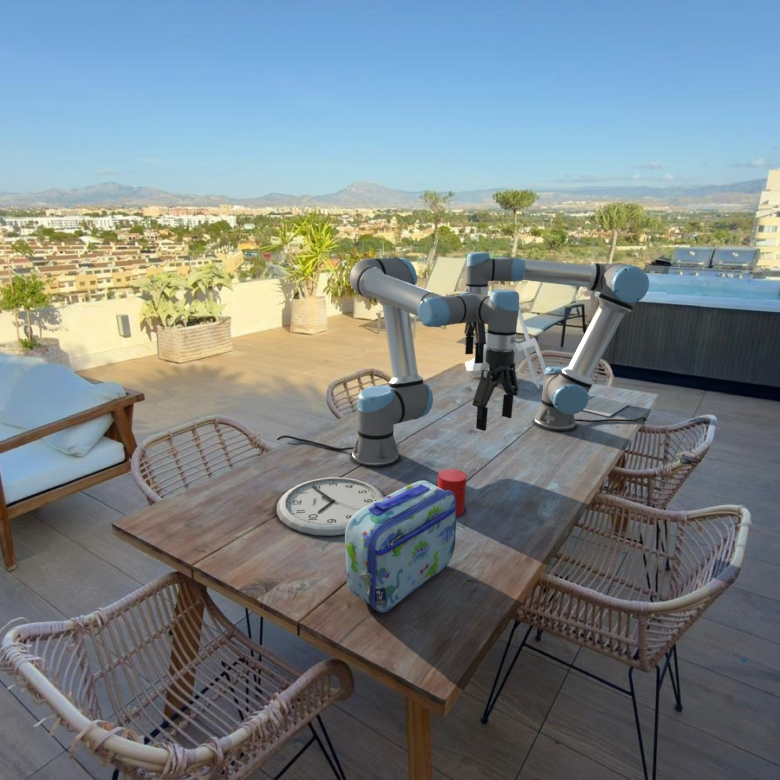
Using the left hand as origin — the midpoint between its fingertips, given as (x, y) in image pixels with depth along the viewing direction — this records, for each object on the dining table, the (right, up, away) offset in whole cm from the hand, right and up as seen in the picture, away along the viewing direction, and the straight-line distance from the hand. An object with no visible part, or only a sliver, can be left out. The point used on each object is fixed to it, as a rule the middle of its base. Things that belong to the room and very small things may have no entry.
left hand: (494, 423), depth 146 cm
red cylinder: (-13, -23, -4) cm, 27 cm away
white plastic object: (+27, +12, +112) cm, 116 cm away
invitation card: (+62, +2, +80) cm, 102 cm away
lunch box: (-27, -32, -34) cm, 54 cm away
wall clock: (-45, -22, -3) cm, 50 cm away
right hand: (+1, +21, +41) cm, 46 cm away
